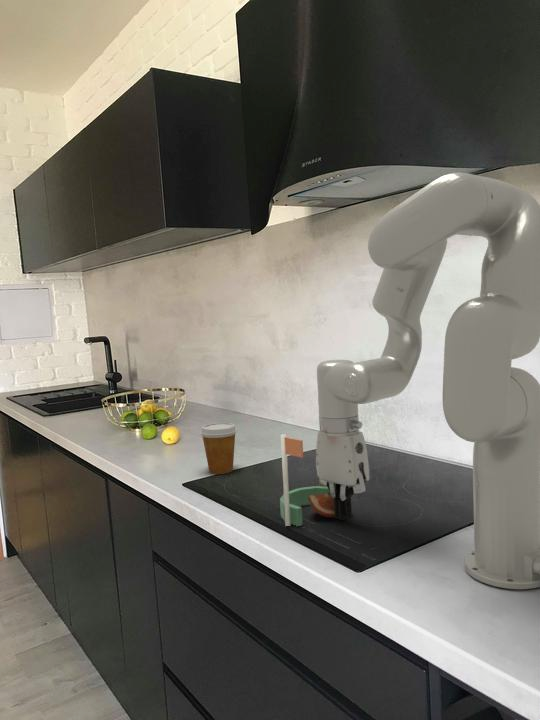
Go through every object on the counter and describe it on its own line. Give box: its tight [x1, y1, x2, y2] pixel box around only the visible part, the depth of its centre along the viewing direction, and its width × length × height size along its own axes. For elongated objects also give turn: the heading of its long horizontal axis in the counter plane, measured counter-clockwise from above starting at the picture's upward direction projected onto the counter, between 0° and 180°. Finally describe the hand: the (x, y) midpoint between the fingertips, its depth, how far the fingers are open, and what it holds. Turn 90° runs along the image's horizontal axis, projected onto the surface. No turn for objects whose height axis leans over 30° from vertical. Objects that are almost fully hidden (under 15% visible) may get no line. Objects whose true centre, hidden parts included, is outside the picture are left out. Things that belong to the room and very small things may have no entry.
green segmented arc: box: [279, 433, 330, 527], centre depth 119 cm, size 12×16×18 cm
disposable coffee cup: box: [200, 422, 238, 475], centre depth 154 cm, size 10×10×12 cm
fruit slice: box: [308, 492, 335, 518], centre depth 118 cm, size 8×7×5 cm
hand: (343, 517), depth 114 cm, fingers closed
